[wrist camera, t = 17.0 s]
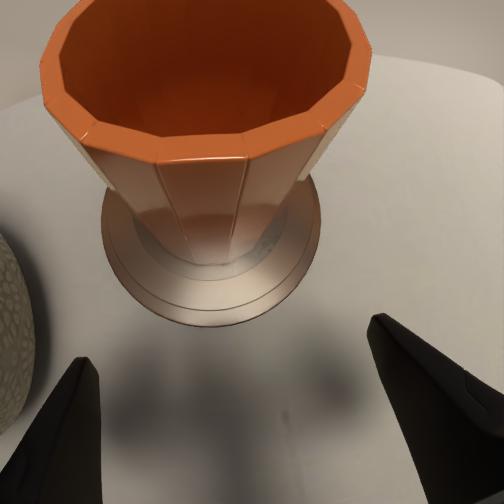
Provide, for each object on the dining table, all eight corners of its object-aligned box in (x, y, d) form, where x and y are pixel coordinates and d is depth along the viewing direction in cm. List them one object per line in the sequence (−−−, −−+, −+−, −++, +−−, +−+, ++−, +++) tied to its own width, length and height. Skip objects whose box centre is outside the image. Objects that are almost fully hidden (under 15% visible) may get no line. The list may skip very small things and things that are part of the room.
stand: (281, 355, 19) (290, 362, 16) (75, 280, 18) (57, 277, 16) (337, 158, 22) (351, 142, 19) (156, 101, 21) (150, 79, 18)
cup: (298, 197, 18) (416, 43, 6) (213, 293, 17) (204, 261, 4) (207, 123, 18) (208, -63, 6) (120, 206, 17) (0, 59, 5)
